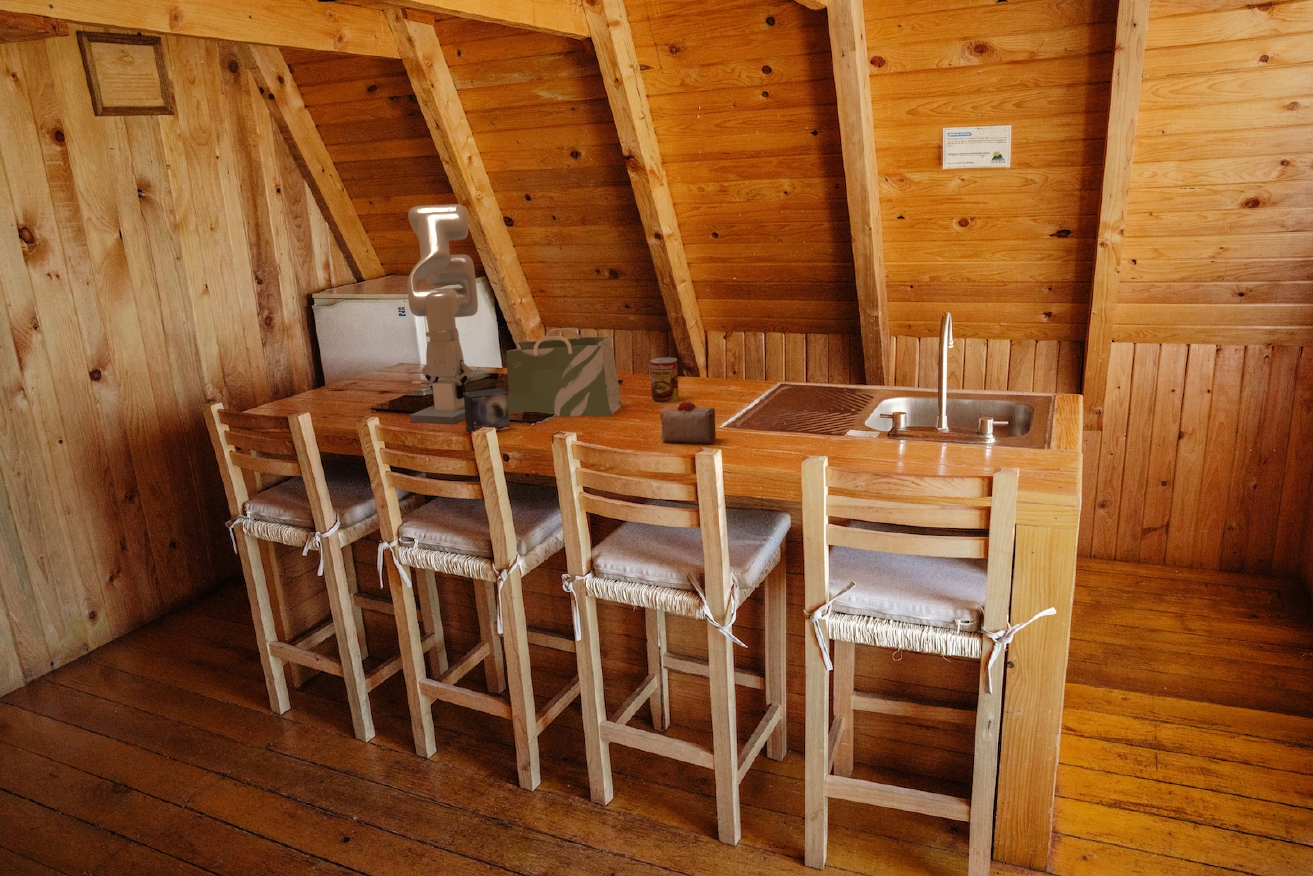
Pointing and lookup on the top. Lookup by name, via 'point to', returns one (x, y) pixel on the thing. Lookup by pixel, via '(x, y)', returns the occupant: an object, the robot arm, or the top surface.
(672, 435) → the food item
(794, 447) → the top surface
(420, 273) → the robot arm
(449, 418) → the post base
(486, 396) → the small box
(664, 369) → the canned food
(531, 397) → the grocery bag
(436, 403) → the tan cardboard cube
